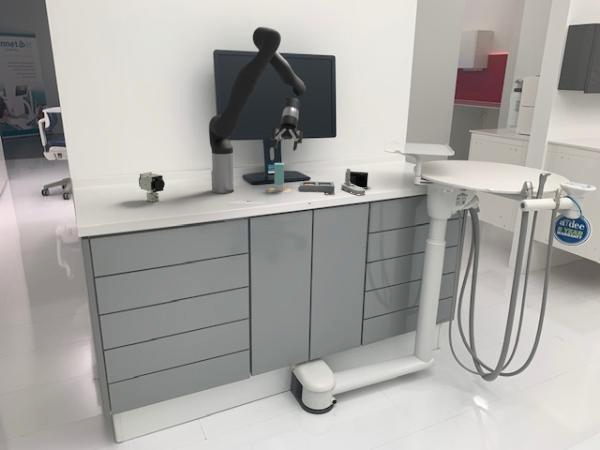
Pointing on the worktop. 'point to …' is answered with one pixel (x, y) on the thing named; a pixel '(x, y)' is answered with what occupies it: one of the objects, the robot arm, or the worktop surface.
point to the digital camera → (358, 178)
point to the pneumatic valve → (151, 185)
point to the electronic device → (351, 185)
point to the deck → (286, 190)
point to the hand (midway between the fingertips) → (284, 149)
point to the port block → (317, 186)
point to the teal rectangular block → (279, 177)
